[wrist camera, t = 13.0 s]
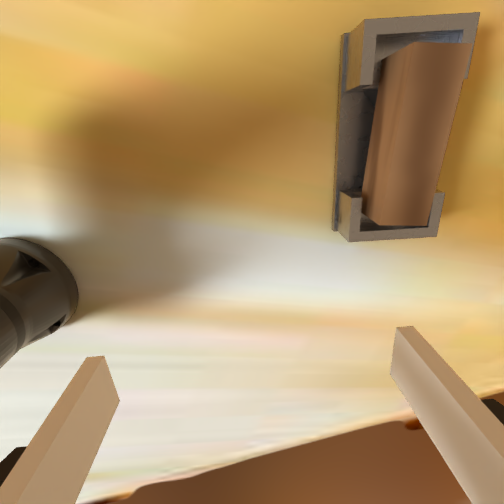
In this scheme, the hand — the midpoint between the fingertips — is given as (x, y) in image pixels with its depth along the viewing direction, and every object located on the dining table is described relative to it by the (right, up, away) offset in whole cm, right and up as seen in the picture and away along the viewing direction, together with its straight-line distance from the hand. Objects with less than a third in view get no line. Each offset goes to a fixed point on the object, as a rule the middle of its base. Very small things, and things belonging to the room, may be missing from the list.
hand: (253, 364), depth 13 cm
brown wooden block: (+16, +18, +20) cm, 31 cm away
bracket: (+16, +19, +22) cm, 33 cm away
